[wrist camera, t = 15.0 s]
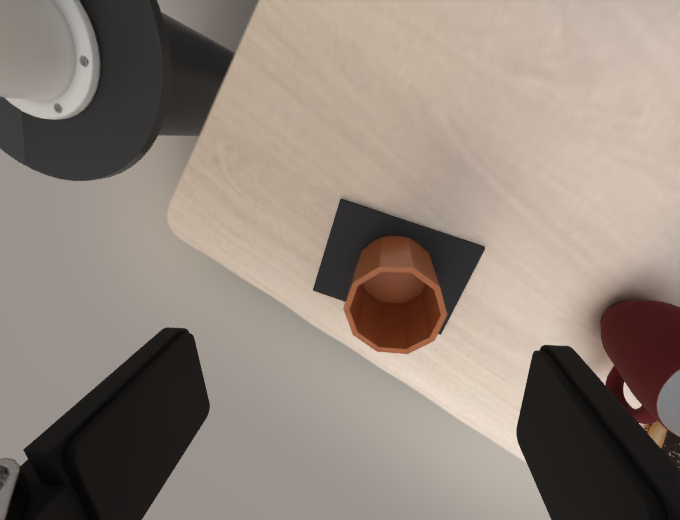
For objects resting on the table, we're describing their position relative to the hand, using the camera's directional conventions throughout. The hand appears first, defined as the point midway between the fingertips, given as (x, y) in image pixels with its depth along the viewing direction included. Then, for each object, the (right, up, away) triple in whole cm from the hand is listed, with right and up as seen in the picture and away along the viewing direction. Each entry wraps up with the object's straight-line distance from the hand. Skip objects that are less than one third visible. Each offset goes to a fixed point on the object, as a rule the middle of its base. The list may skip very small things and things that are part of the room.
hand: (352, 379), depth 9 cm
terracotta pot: (+5, +2, +22) cm, 23 cm away
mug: (+26, -3, +22) cm, 34 cm away
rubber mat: (+5, +2, +23) cm, 23 cm away
